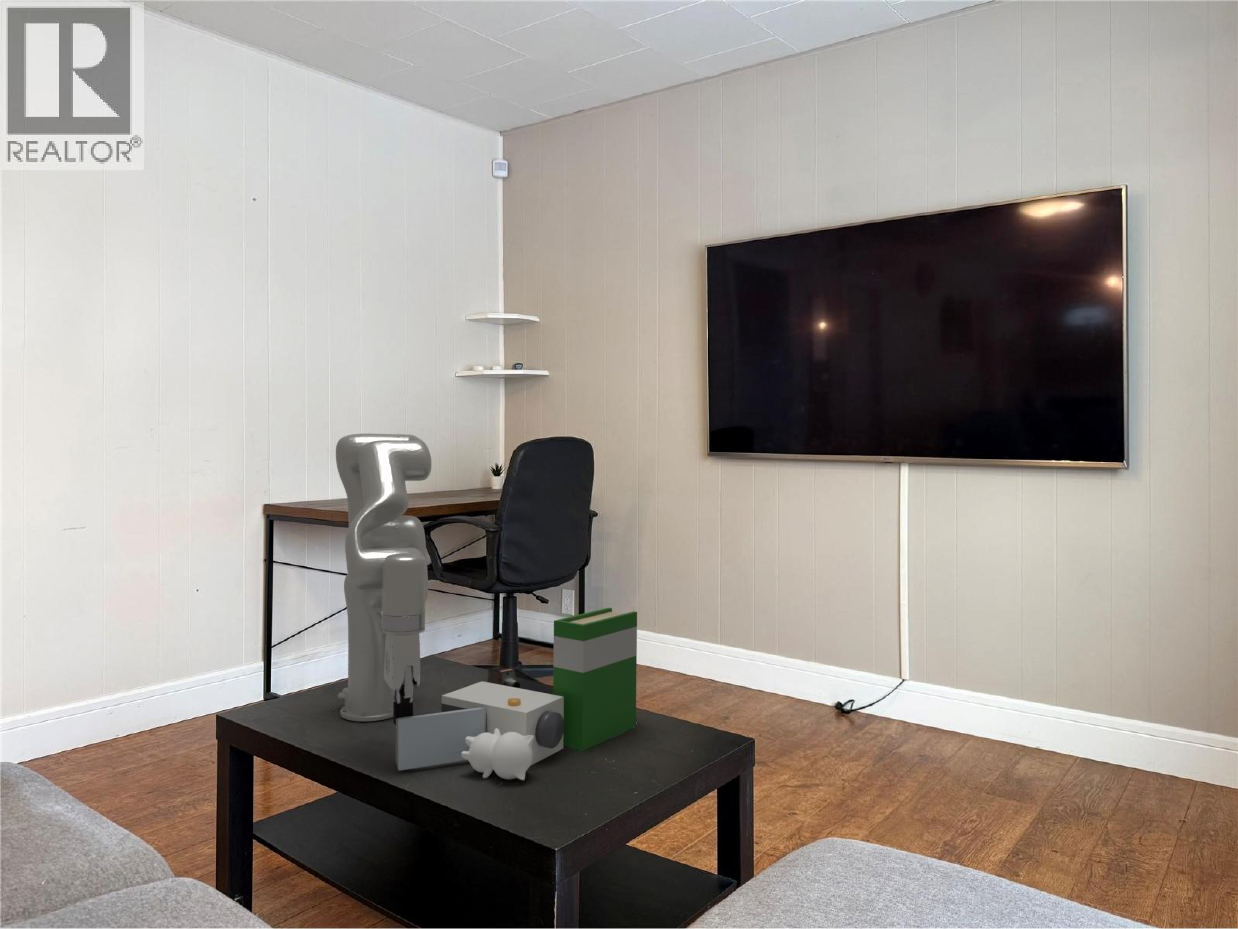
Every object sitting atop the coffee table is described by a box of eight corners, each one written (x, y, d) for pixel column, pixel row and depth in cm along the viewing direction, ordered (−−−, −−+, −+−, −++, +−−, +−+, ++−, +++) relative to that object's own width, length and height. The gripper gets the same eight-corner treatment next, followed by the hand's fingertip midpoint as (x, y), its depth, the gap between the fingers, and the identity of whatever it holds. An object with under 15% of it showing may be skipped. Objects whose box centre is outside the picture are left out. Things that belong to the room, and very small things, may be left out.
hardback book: (607, 720, 186) (608, 607, 186) (635, 727, 182) (637, 612, 181) (552, 743, 172) (553, 620, 172) (582, 751, 168) (583, 625, 167)
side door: (399, 770, 155) (399, 719, 155) (395, 765, 157) (395, 715, 157) (486, 756, 162) (486, 708, 162) (482, 752, 164) (482, 704, 164)
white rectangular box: (441, 747, 169) (441, 691, 169) (481, 730, 179) (481, 677, 179) (534, 770, 158) (535, 710, 157) (571, 750, 168) (572, 694, 168)
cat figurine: (466, 719, 156) (526, 726, 152) (493, 736, 165) (551, 743, 160) (453, 770, 152) (514, 778, 147) (481, 784, 160) (539, 793, 156)
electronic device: (509, 709, 194) (509, 675, 194) (484, 700, 201) (484, 667, 201) (525, 705, 197) (525, 671, 197) (500, 696, 204) (500, 664, 204)
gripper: (375, 616, 164) (374, 714, 165) (389, 632, 151) (389, 739, 151) (416, 613, 167) (415, 709, 168) (433, 629, 154) (432, 734, 154)
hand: (402, 723), depth 159 cm, fingers closed
